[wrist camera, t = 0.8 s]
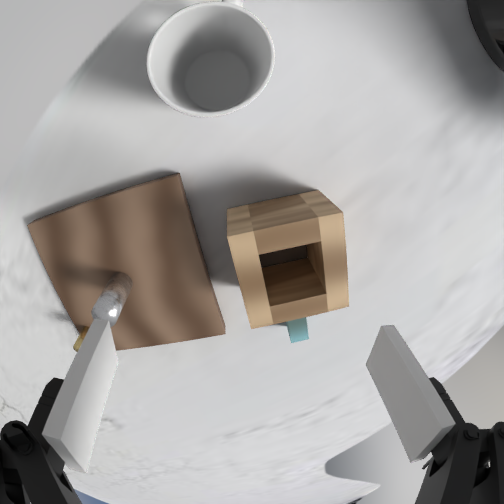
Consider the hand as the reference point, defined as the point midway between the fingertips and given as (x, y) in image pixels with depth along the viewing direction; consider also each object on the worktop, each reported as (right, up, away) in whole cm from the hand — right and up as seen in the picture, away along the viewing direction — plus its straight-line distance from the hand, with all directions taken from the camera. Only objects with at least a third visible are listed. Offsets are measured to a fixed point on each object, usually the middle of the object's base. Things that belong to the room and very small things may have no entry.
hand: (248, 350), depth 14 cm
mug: (-2, +21, +10) cm, 23 cm away
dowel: (-20, -5, +19) cm, 28 cm away
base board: (-14, +2, +18) cm, 22 cm away
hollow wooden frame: (+4, +3, +19) cm, 19 cm away
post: (-13, +1, +16) cm, 21 cm away
